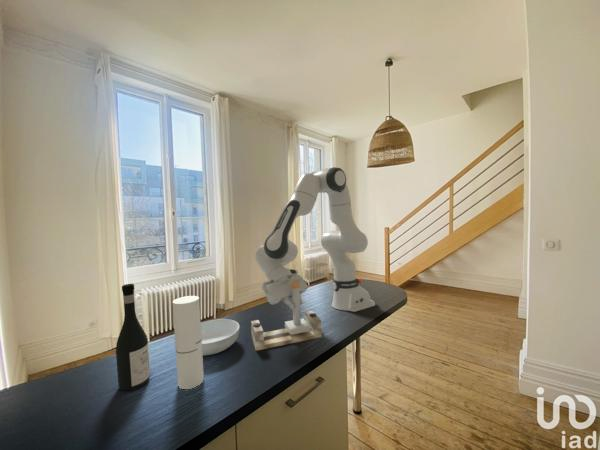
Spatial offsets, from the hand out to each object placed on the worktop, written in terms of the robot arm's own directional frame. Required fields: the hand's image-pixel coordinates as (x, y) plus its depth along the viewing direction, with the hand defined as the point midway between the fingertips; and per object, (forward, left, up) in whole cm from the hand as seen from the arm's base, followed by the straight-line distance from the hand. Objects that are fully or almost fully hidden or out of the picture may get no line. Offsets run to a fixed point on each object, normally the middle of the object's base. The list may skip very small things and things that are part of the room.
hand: (297, 305), depth 103 cm
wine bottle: (+55, +8, -12) cm, 57 cm away
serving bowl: (+33, -5, -13) cm, 36 cm away
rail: (+5, -1, -12) cm, 13 cm away
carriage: (0, -1, -9) cm, 9 cm away
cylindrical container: (+39, +14, -12) cm, 43 cm away
